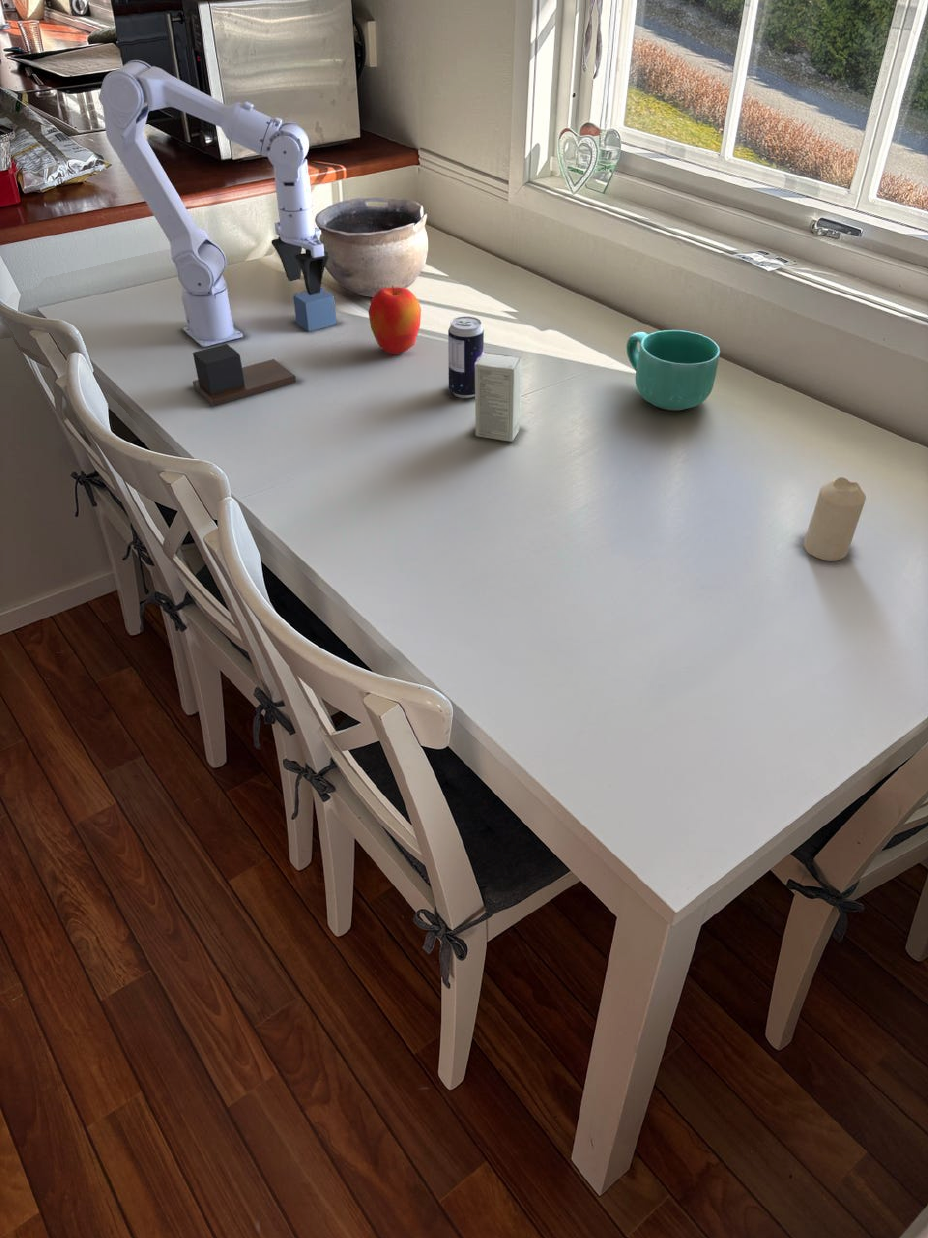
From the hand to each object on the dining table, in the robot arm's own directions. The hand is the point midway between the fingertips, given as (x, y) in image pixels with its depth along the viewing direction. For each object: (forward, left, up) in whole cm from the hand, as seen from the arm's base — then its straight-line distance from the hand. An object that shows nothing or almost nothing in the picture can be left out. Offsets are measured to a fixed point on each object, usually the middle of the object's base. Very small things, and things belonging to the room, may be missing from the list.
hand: (304, 286), depth 164 cm
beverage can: (+34, +11, -10) cm, 37 cm away
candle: (+97, +24, -10) cm, 100 cm away
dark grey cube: (+11, -22, -8) cm, 26 cm away
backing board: (+11, -18, -10) cm, 23 cm away
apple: (+14, +10, -10) cm, 20 cm away
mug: (+54, +37, -10) cm, 66 cm away
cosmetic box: (+48, +7, -10) cm, 49 cm away
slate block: (-5, +4, -10) cm, 12 cm away
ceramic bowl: (-13, +22, -10) cm, 27 cm away
